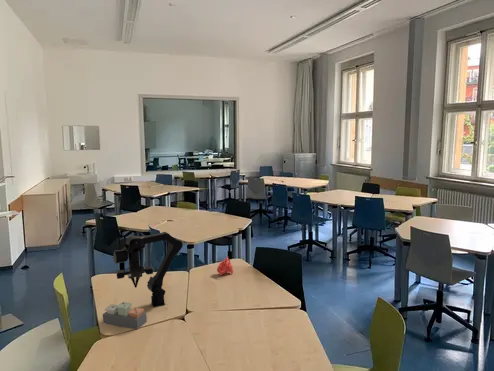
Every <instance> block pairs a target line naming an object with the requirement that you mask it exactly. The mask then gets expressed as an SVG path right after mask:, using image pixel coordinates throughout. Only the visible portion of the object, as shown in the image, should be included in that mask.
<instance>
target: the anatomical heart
mask: <svg viewBox="0 0 494 371" xmlns="http://www.w3.org/2000/svg"><path fill="white" fill-rule="evenodd" d="M216 272H217V273H218V274H220V275H221V276H223V275H225V274H226V273H230V274H232V275H233V273H234V268H233V265H232V263H231V259H230V258H229V256H226V257H225V259H224V260H220V262H219V264H218V266H217V268H216Z"/></svg>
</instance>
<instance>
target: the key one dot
mask: <svg viewBox="0 0 494 371" xmlns="http://www.w3.org/2000/svg"><path fill="white" fill-rule="evenodd" d="M118 305H119V304H115V303H111V304H110V305H108V306H107V307H105V308H104V311H105V312H107V313H108V314H116V313H117V312H118V309H116V306H118Z"/></svg>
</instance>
